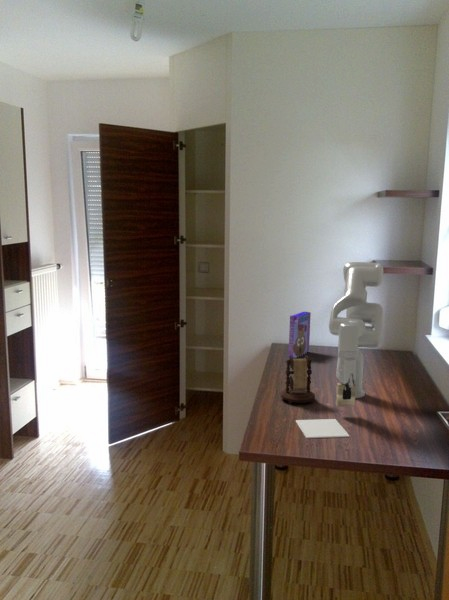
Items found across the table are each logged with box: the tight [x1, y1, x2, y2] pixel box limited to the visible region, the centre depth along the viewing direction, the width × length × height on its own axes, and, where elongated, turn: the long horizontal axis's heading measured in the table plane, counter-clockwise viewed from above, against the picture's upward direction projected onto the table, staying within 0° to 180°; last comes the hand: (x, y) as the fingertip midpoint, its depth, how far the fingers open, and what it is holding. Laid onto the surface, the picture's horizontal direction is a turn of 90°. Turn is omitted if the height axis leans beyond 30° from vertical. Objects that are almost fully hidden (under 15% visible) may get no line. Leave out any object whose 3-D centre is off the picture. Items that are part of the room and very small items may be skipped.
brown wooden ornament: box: [280, 354, 316, 405], centre depth 228 cm, size 15×15×20 cm
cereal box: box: [288, 311, 312, 359], centre depth 303 cm, size 17×5×24 cm, turn 147°
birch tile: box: [335, 382, 356, 408], centre depth 211 cm, size 3×7×9 cm, turn 96°
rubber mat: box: [295, 418, 350, 439], centre depth 198 cm, size 16×16×1 cm
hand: (345, 397), depth 211 cm, fingers closed on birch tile, 2 cm apart
